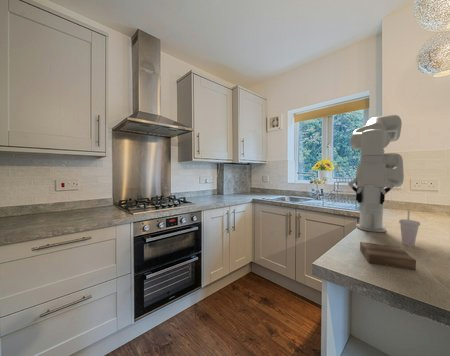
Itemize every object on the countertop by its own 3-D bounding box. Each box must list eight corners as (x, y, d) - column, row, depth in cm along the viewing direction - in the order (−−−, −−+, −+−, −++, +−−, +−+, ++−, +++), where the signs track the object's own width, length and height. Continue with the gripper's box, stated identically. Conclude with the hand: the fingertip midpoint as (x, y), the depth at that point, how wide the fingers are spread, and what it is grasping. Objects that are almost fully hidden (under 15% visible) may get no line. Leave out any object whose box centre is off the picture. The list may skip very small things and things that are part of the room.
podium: (359, 249, 78) (360, 241, 78) (398, 254, 74) (399, 246, 74) (369, 263, 67) (369, 254, 67) (415, 270, 63) (416, 260, 62)
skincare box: (372, 211, 88) (373, 183, 87) (380, 214, 83) (382, 184, 82) (358, 211, 88) (359, 183, 87) (365, 214, 83) (366, 184, 82)
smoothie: (408, 241, 87) (410, 209, 86) (423, 247, 81) (425, 212, 80) (393, 241, 87) (395, 209, 86) (407, 247, 81) (409, 212, 80)
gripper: (393, 160, 84) (391, 202, 85) (345, 160, 91) (344, 200, 92) (401, 159, 77) (399, 206, 78) (349, 160, 84) (347, 203, 85)
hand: (369, 202), depth 85 cm, fingers closed on skincare box, 7 cm apart
